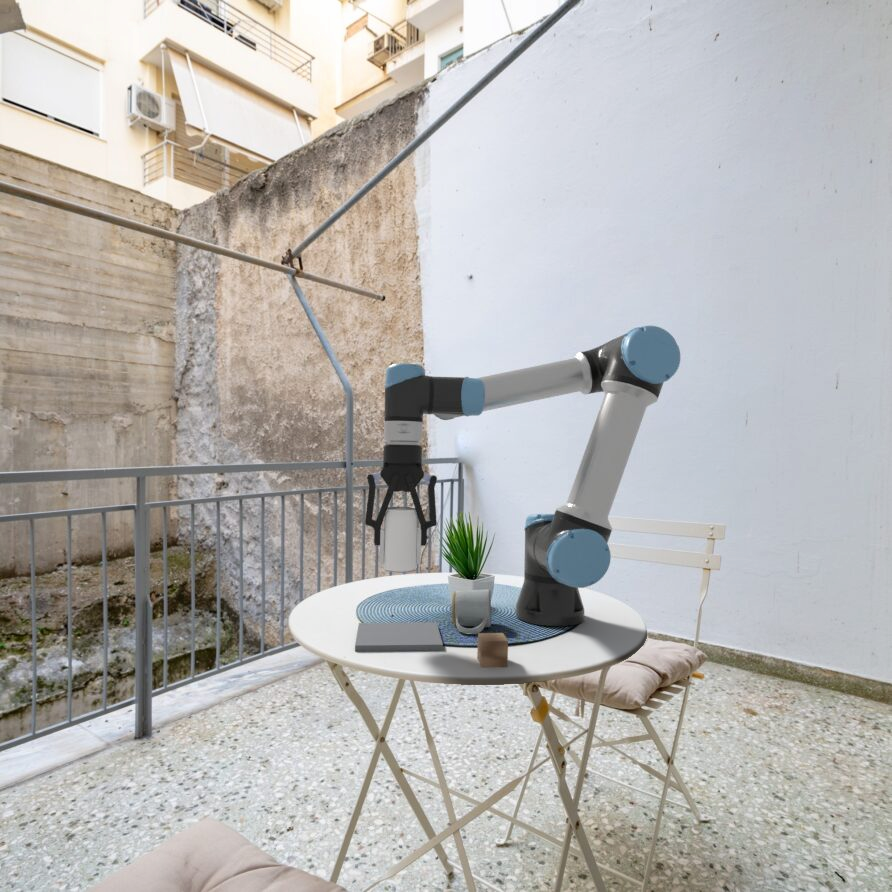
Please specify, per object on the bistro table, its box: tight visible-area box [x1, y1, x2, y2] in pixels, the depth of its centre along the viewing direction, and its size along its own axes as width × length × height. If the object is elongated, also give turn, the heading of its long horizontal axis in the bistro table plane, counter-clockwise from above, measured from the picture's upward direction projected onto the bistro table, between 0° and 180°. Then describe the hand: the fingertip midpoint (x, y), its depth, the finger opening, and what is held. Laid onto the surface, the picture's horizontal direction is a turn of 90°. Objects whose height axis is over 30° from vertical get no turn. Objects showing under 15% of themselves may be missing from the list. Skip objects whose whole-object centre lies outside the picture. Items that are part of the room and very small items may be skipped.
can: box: [382, 506, 419, 573], centre depth 114 cm, size 6×6×12 cm
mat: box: [354, 621, 444, 652], centre depth 113 cm, size 16×14×1 cm
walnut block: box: [476, 632, 509, 668], centre depth 102 cm, size 4×4×4 cm
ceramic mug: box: [451, 588, 492, 635], centre depth 122 cm, size 11×8×8 cm
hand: (399, 562), depth 114 cm, fingers closed on can, 6 cm apart
